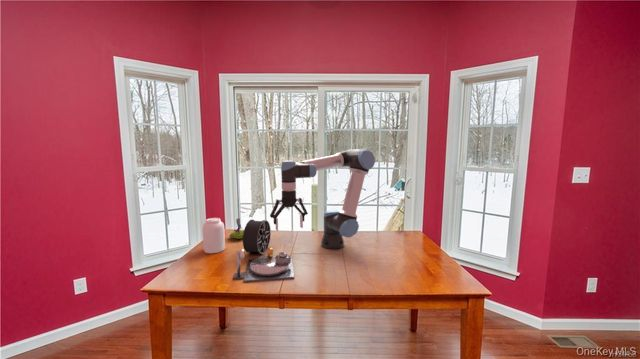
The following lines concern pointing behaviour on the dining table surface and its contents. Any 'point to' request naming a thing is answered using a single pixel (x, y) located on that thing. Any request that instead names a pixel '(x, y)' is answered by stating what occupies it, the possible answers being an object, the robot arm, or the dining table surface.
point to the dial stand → (239, 274)
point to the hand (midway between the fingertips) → (289, 228)
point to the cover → (283, 259)
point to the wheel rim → (256, 236)
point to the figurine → (237, 231)
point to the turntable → (267, 265)
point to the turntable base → (253, 277)
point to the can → (213, 236)
